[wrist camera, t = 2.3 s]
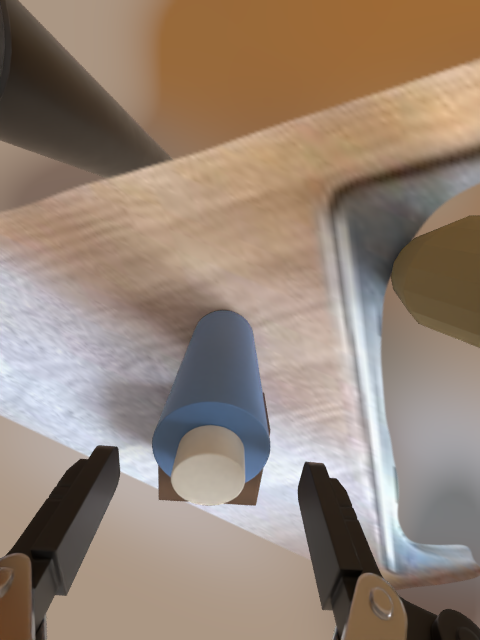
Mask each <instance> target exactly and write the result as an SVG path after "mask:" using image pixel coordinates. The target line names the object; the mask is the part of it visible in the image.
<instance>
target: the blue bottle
mask: <svg viewBox="0 0 480 640" xmlns="http://www.w3.org/2000/svg"><path fill="white" fill-rule="evenodd" d="M152 448H153V454H154V457H155V459H156V461H157V463H158V465H159V466H160V468H161V469H162V470H163V471H164V472H165V473H166V474H167V475H168V476H169V477H171V483H172V486H173V488H174V490H175V491H176V493H177V494H178V495H179V496H181V497H182V498H183V499H185V500H187V501H189V502H191V503H194V504H198V505H205V506H212V505H220V504H223V503H226V502H229V501H231V500H232V499H234V498H235V497H237V496H238V495H239V494H240V492H241V491H242V489H243V487H244V484H245V482H247V481H249V480H251V479H252V478H253V477H255V476H256V475H257V474H258V473H259V472H260V471H261V470H262V469H263V467H264V466H265V464H266V462H267V460H268V457H269V453H270V439H269V432H268V426H267V419H266V413H265V406H264V400H263V394H262V387H261V381H260V374H259V368H258V361H257V355H256V349H255V342H254V336H253V331H252V328H251V326H250V324H249V323H248V322H247V320H246V319H245V318H243V317H242V316H241V315H239V314H237V313H235V312H232V311H227V310H220V311H214V312H212V313H209V314H207V315H206V316H204V317H203V318H202V319H201V320H200V321H199V322H198V324H197V326H196V328H195V330H194V333H193V335H192V338H191V340H190V343H189V345H188V348H187V351H186V353H185V356H184V358H183V361H182V363H181V366H180V368H179V371H178V373H177V376H176V379H175V381H174V384H173V386H172V389H171V391H170V394H169V396H168V399H167V401H166V404H165V406H164V409H163V412H162V414H161V417H160V419H159V422H158V424H157V427H156V429H155V432H154V435H153V440H152Z"/></svg>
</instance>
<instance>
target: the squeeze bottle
mask: <svg viewBox="0 0 480 640" xmlns="http://www.w3.org/2000/svg"><path fill="white" fill-rule="evenodd" d="M391 280H392V285H393V289H394V291H395V292H396V294H397V295H398V297H399V298H400V300H401V301H402V303H403V304H404V306H405V307H406V308H407V310H408V311H409V312H410V314H411V315H412V316H413V317H414V319H415V320H416V321H417V322H418V324H421V325H423V326H426V327H428V328H430V329H433V330H435V331H438V332H440V333H443V334H445V335H448V336H451V337H453V338H456V339H458V340H461V341H463V342H466V343H468V344H471V345H474V346H476V347H479V348H480V215H478V216H468V217H466V218H463V219H460V220H458V221H455V222H453V223H451V224H448V225H446V226H443V227H441V228H438V229H436V230H433V231H431V232H429V233H426V234H424V235H421V236H419V237H416V238H414V239H413V240H412V241H411V242H410V243H408V244H407V245H406V246H405V247H404V248H403V249H402V250H401V252H400V253H399V255H398V257H397V258H396V260H395V261H394V264H393V269H392V274H391Z"/></svg>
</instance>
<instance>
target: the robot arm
mask: <svg viewBox="0 0 480 640" xmlns="http://www.w3.org/2000/svg"><path fill="white" fill-rule="evenodd" d="M119 477H120V465H119V451H118V447H115V446H102V445H99V446H97V447H96V448H95V449H94V451H93V452H92V454H91V456H90V457H89V459H80V460H79V461H77V462H76V463H75V464H74V465H73V466H71V467H70V468H69V469H68V470H67V471H66V473H65V474H64V475H63V477H62V478H61V480H60V481H59V482H58V484H57V486H56V487H55V488H54V489H53V491H52V492H51V494H50V495H49V498H48V499H46V501H45V502H44V504H43V505H42V507H41V508H40V510H39V511H38V512H37V514H36V515H35V517H34V518H33V519H32V521H31V522H30V524H29V525H28V527H27V528H26V530H25V531H24V532H23V534H22V535H21V536H20V538H19V539H18V541H17V542H16V544H15V545H14V546H13V548H12V549H11V550H10V551H9V552H8V553H7V554H6V556H4V557H2V558H0V640H47V623H46V612H47V610H48V608H49V606H50V604H51V602H52V600H53V598H54V596H55V595H64V596H66V595H67V593H68V591H69V589H70V587H71V585H72V583H73V580H74V578H75V576H76V574H77V572H78V569H79V568H80V566H81V563H82V561H83V559H84V557H85V555H86V553H87V550H88V548H89V546H90V544H91V542H92V540H93V538H94V535H95V533H96V531H97V529H98V527H99V525H100V522H101V520H102V518H103V516H104V514H105V512H106V510H107V507H108V505H109V503H110V501H111V499H112V497H113V495H114V492H115V490H116V487H117V485H118V481H119ZM298 501H299V506H300V511H301V515H302V520H303V524H304V529H305V533H306V538H307V542H308V547H309V551H310V556H311V560H312V565H313V570H314V574H315V579H316V583H317V588H318V592H319V597H320V601H321V606H322V610H333V613H334V617H335V621H336V627H335V630H334V634H333V638H332V640H480V629H479V628H478V627H477V625H476V624H474V623H473V622H472V621H471V620H470V619H468V618H467V617H466V616H464V615H463V614H461V613H460V612H457V611H455V610H451V609H446V610H443V611H442V612H441V613H440V614H439V615H438V616H437V615H435V614H433V613H431V612H429V611H426V610H424V609H422V608H420V607H418V606H416V605H414V604H411V603H410V602H408V601H406V600H404V599H403V598H401V597H400V596H399V595H398V594H397V592H396V591H395V589H394V588H393V587H392V586H391V585H390V584H389V583H388V582H387V581H386V580H385V579H384V578H383V577H382V575H381V573H380V571H379V569H378V567H377V564H376V562H375V560H374V557H373V555H372V552H371V550H370V547H369V545H368V542H367V540H366V538H365V535H364V533H363V530H362V528H361V525H360V523H359V521H358V520H357V516H356V513H355V511H354V508H352V504H351V501H350V499H349V496H348V494H347V491H346V490H345V489H344V487H343V486H342V485H341V484H340V482H339V481H338V480H337V479H336V478H329V475H328V472H327V470H326V467H325V465H324V464H323V463H314V462H305V464H304V467H303V470H302V474H301V478H300V481H299V485H298Z"/></svg>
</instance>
